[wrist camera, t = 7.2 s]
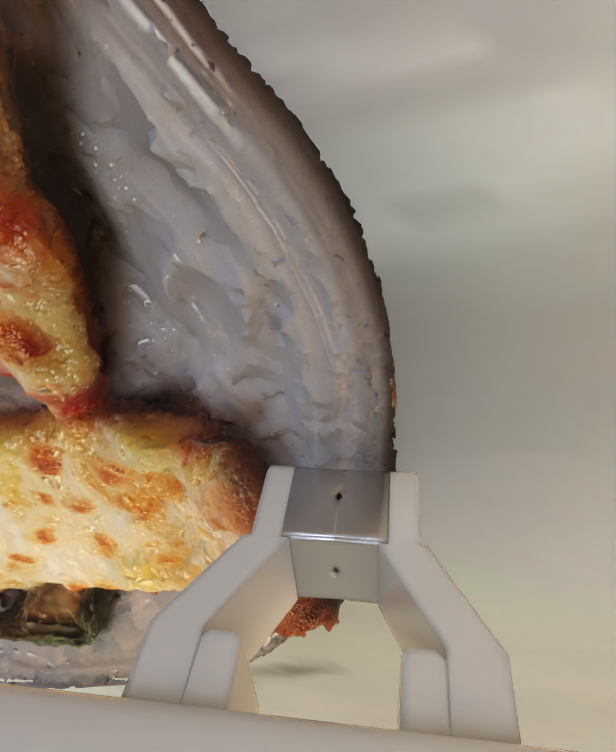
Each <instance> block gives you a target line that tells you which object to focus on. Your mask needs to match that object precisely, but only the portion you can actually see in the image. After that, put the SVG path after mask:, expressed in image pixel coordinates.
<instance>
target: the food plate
mask: <svg viewBox="0 0 616 752" xmlns="http://www.w3.org/2000/svg"><path fill="white" fill-rule="evenodd" d="M228 38H229V37H228V36H227V35H226V34H225V33H224V32H223V31H220V30H218V29H217V26H216V23H215V21H214V20H213V19H212V18H211V17H210V15H209V13H208V11H207V9H206V8H205V6H204V5H203V3H202V2H201V1H200V0H0V678H2V679H3V678H4V679H3V680H5V682H6V680H7V679H12V680H14V679H20V680H22V679H23V680H28V679H29V680H33V682H27V681H26V682H6V683H5V682H1V681H0V683H2V684H10V685H19V686H27V687H36V688H44V689H46V688H55V689H65V688H69V687H71V686H75V687H76V688H84V687H97V686H116V685H126V683H127V681H125V680H121V681H120V680H114V679H112V678H113V676H115V678H123V677H124V678H129V675H130V673H131V670H132V667H133V664H134V662H135V659H136V656H137V654H138V651H139V648H140V646H141V643H142V640H143V638H144V635H145V632H146V630H147V627H148V624H149V622H150V620H151V619H152V618H153V617H154V616H155V615H156V614H157V613H159V612H160V611H161V610H162V609H163V608H164V607H165V606H166V605H167V604H168V603H169V602H170V601H172V600H173V599H174V598H175V597H176V596H177V595H178V594H179V593H180V592H181V591H182V590H183V589H184V588H186V587H187V586H188V585H189V584H190V583H191V582H192V581H193V580H194V579H195V578H196V577H197V576H199V575H200V574H201V573H202V572H203V571H204V570H205V569H206V568H207V567H208V566H209V565H210V564H211V563H213V562H214V561H215V560H216V559H217V558H218V557H219V556H220V555H221V554H222V553H223V552H224V551H225V550H227V549H228V548H229V547H230V546H231V545H232V544H233V543H234V542H235V541H236V540H237V539H238V538H240V537H241V536H242V535H243V534H251V532H252V528H253V524H254V520H255V516H256V512H257V508H258V505H259V501H260V497H261V493H262V489H263V485H264V481H265V477H266V473H267V471H268V469H269V467H270V466H271V465H278V466H292V467H310V468H323V469H336V470H338V469H345V470H370V471H390V472H395V471H396V469H395V465H396V453H397V450H394V449H393V447H394V444H393V438H395V427H394V422H393V419H394V417H395V407H396V404H397V403H396V384H395V377H394V372H395V369H394V360H393V356H392V350H391V344H390V328H389V322H388V316H387V311H386V307H385V304H384V298H383V297H382V287H381V279H380V277H379V276H378V278H377V276H376V273H375V272H374V265H373V262H372V260H369V259H368V253H367V247H366V241H365V240H364V239H363V238H362V235H363V229H362V227H361V224H360V223H359V222H358V221H357V220H356V219H354V218H353V214H354V213H355V212H356V211H355V209H354V208H353V207H352V206H350V199H349V198H348V197H347V196H346V195H345V194H344V192H343V191H342V189H341V186H340V184H339V182H338V180H337V179H336V178H335V176H334V174H333V172H332V170H331V169H330V168H328V167H327V166H326V164H325V162H324V161H320V151H319V150H318V148H317V147H316V146H315V145H314V143H313V142H312V141H311V139H310V138H309V137H308V135H307V134H306V132H305V131H304V129H303V127H302V123H301V122H300V121H299V120H298V118H297V117H296V116H295V115H294V114H293V113H292V112H291V111H290V110H288V109H287V107H286V106H285V104H284V102H283V100H282V99H280V98H279V97H277V96H276V95H275V92H274V90H273V88H272V87H271V86H270V85H265V80H264V79H262V77H261V76H260V74H258V73H255V72H252V71H251V63H250V61H249V60H248V59H247V58H246V57H245V56H243V55H240V54H238V52H237V48H235V47H232V46H231V45H230V44H229V43H228V42H227V40H228ZM392 437H393V438H392ZM343 601H344V600H342V599H330V598H313V597H298V600H297V601H296V603H295V604H294V605H293V606H292V608H291V609H290V610H289V612H288V613H287V614H286V615H285V617H284V618H283V619H282V621H281V622H280V623H279V624H278V626H277V627H276V628H275V630H274V631H273V632H272V633H271V635H270V636H269V637H268V639H267V640H266V641H265V642H264V644H263V645H262V646H261V648H260V649H259V650H258V651H257V653H256V654H255V655H254V657H253V658H252V659H251V661H250V662H252V661H253V660H255V659H257V658H258V657H260V656H261V655H262V656H263V657H264V656H265V655H266V654H267V653H270V652H271V651H272V650H273V649H274V648H275V647H277V646H278V645H280V644H281V643H283V642H284V641H285V640H286V639H287V638H288V637H291V636H301V637H305V636H306V631H309V630H313V629H315V628H316V627H318V626H320V625H324V626H325V628H326V630H328V631H329V632H330V630H331V629H332V627H333V626H334V625H335V624H337V623H339V621H338V614H339V607H340V605H341V603H342V602H343Z"/></svg>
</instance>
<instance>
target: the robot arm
mask: <svg viewBox="0 0 616 752" xmlns="http://www.w3.org/2000/svg"><path fill="white" fill-rule="evenodd" d="M389 485H390V489H389ZM298 597H313V598H330V599H342V600H351V601H360V602H369V603H378V606H379V608H380V610H381V612H382V614H383V616H384V617H385V619H386V621H387V623H388V625H389V627H390V629H391V631H392V633H393V635H394V637H395V638H396V640H397V642H398V644H399V646H400V648H401V650H402V652H403V655H401V670H400V685H399V701H398V716H397V730H392V729H383V728H375V727H366V726H358V725H350V724H341V723H333V722H324V721H316V720H307V719H299V718H290V717H282V716H273V715H265V714H258V712H259V702H258V699H257V695H256V692H255V688H254V684H253V681H252V677H251V673H250V670H249V666H248V663H249V662H250V661H251V659H252V658H253V657H254V655H255V654H256V653H257V651H258V650H259V649H260V648H261V646H262V645H263V644H264V642H265V641H266V640H267V639H268V637H269V636H270V635H271V633H272V632H273V631H274V630H275V628H276V627H277V626H278V624H279V623H280V622H281V621H282V619H283V618H284V617H285V615H286V614H287V613H288V612H289V610H290V609H291V608H292V606H293V605H294V604H295V603H296V601H297V600H298ZM0 752H578V751H569V750H561V749H552V748H544V747H536V746H527V745H521V740H520V733H519V725H518V718H517V711H516V704H515V697H514V690H513V682H512V675H511V668H510V661H509V656H508V654H507V653H506V652H505V650H504V649H503V647H502V646H501V645H500V643H499V642H498V641H497V639H496V638H495V637H494V635H493V634H492V633H491V631H490V630H489V629H488V627H487V626H486V624H485V623H484V622H483V620H482V619H481V618H480V616H479V615H478V614H477V612H476V611H475V610H474V608H473V607H472V606H471V604H470V603H469V601H468V600H467V599H466V597H465V596H464V595H463V593H462V592H461V591H460V589H459V588H458V587H457V585H456V584H455V583H454V581H453V580H452V578H451V577H450V576H449V574H448V573H447V572H446V570H445V569H444V568H443V566H442V565H441V564H440V562H439V561H438V560H437V558H436V557H435V555H434V554H433V553H432V551H431V550H430V549H429V547H423V546H420V523H419V478H418V475H417V473H410V472H390V471H370V470H345V469H338V470H336V469H323V468H310V467H292V466H278V465H271V466H270V467H269V469H268V471H267V473H266V477H265V481H264V485H263V489H262V493H261V497H260V501H259V505H258V508H257V512H256V516H255V520H254V524H253V528H252V532H251V534H243V535H242V536H241V537H240V538H238V539H237V540H236V541H235V542H234V543H233V544H232V545H231V546H230V547H229V548H228V549H227V550H225V551H224V552H223V553H222V554H221V555H220V556H219V557H218V558H217V559H216V560H215V561H214V562H213V563H211V564H210V565H209V566H208V567H207V568H206V569H205V570H204V571H203V572H202V573H201V574H200V575H199V576H197V577H196V578H195V579H194V580H193V581H192V582H191V583H190V584H189V585H188V586H187V587H186V588H184V589H183V590H182V591H181V592H180V593H179V594H178V595H177V596H176V597H175V598H174V599H173V600H172V601H170V602H169V603H168V604H167V605H166V606H165V607H164V608H163V609H162V610H161V611H160V612H159V613H157V614H156V615H155V616H154V617H153V618H152V619H151V620H150V622H149V624H148V627H147V630H146V632H145V635H144V638H143V640H142V643H141V646H140V648H139V651H138V654H137V656H136V659H135V662H134V664H133V667H132V670H131V673H130V675H129V678H128V681H127V683H126V686H125V689H124V691H123V694H122V697H112V696H104V695H95V694H87V693H78V692H70V691H61V690H53V689H44V688H36V687H27V686H19V685H10V684H2V683H0Z"/></svg>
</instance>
